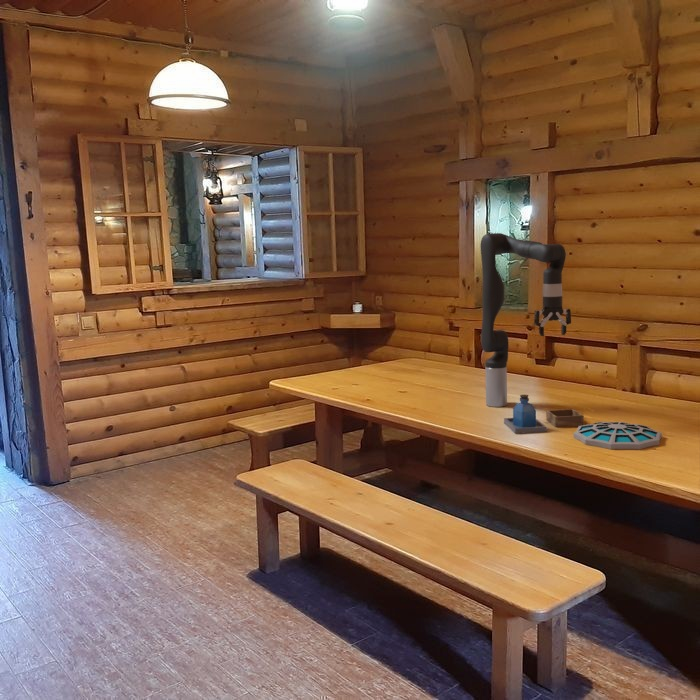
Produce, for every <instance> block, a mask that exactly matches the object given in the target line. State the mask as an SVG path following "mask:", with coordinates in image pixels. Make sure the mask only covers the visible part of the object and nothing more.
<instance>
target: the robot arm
mask: <svg viewBox="0 0 700 700" xmlns="http://www.w3.org/2000/svg"><path fill="white" fill-rule="evenodd" d="M502 254H503V255H504V254H514V255H518V256H520V257H522V258H526V259H530V260H531V259H532V260H536V261H538V262H542V263H548V264H549V266H548V268H546V269H545V270H543V272H542V273H543V277H542V280H543V281H542V282H543V284H542V310H537V309H536V310H534V317H533V319H534V320H533V322H534V323H533V324H534V326H537V327H538V335H540V337H544V336H545V327H544V326H545V325H546V324H547V322H548V321H550V322H551V321H559V323H560V324H561V325H560V327H561V328H560V329H561V330H560V331H561V335H562V336H565V335H566V334H567V326H568V325H570V324H572V314H571V313H572V311H571V309H570V308H563V284H562V283H563V281H562V279H563V278H562V277H563V276H562V275H563V273H562V272H563V270H564V266H565V261H566V257H567V256H566V255H567V254H566V249H565V247H564V245H562V244H560V243H553V244H551V243H550V244H545V243H542V242H540V241H534V240H533V241H532V240H525V239H518V238H514V237H513V236H509V235H507V234H504V233H500V232H499V233H498V232H497V233H496V232H494V233H486V234H484V235H483V236H482V237H481V240H480V255H481V256H480V257H481V266H482V320H481V321H482V323H481V333H480V345H481V348H482V351H483V352H485V353H493V355H492V356H490V357H489V358H487V359H486V360H485V361H484V364H485V365H484V366H485V367H484V369H485V406H487V407H493V408H500V407H506V406H508V375H507V373H508V370H507V369H508V367H507V365H508V364H507V363H508V359H509V336H508V333H507V332H506V331H505V330H503V329H498V330H494V329H495V328H494V325H495V321H496V318H497V316H498V314H499V313H500V310H501V308H503V307H502V306H503V305H504V301H505V284H504V281H503V279H502V277H501V276H500V274H499V271H498V270H497V263H496V256H498V255H499V256H500V255H502ZM563 313H564V315H565V318H563V316H562V315H563ZM541 315H543V317H542V318H541V320H540V317H541Z"/></svg>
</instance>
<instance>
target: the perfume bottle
mask: <svg viewBox="0 0 700 700" xmlns="http://www.w3.org/2000/svg"><path fill="white" fill-rule="evenodd" d="M519 397H520V398H519V402H518V403H516V404H515V405H514V407H513V408H512V413H513V414H512V418H513V425H515V426H518V427H521V428H526V427H533V426H536V419H537V410H536V408H535V407H534V405H533V404H532V403H530V402H529V401H530V398H529V394H520V396H519Z"/></svg>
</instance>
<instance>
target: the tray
mask: <svg viewBox="0 0 700 700" xmlns="http://www.w3.org/2000/svg"><path fill="white" fill-rule="evenodd" d="M503 424H505V426H506V427H507V428H509V429H510V431H512V432H513V433H514V434H515V435H519V434H533V433H535V432H537V433H547V426H546V425H544V423H542V422H541V421H540V420H539V419H537V418H536V426H533V427H526V428H521V427H518V426H515V425H513V417H505V418H503Z"/></svg>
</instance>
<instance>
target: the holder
mask: <svg viewBox="0 0 700 700" xmlns="http://www.w3.org/2000/svg"><path fill="white" fill-rule="evenodd" d="M545 415H546V422H547V423H549V424H551V425H552V426H553V427H555V428H565V427H568V426H569V427H579V426H583V425H585V423H584V420H585V419H584V416H585V415H583V414H582V413H580V412H579V411H577V410H575V409H573V408H568V409H566V408H565V409H552V410H551V409H549V410H548V409H547V410H546V413H545Z"/></svg>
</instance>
